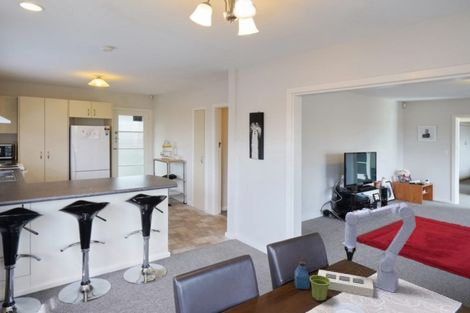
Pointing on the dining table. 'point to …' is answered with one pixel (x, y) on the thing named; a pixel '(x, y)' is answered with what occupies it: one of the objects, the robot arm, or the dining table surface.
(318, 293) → the plant pot
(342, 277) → the button middle
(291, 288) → the dining table surface
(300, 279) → the perfume bottle
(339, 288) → the button panel
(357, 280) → the button
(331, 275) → the button
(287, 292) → the dining table surface
